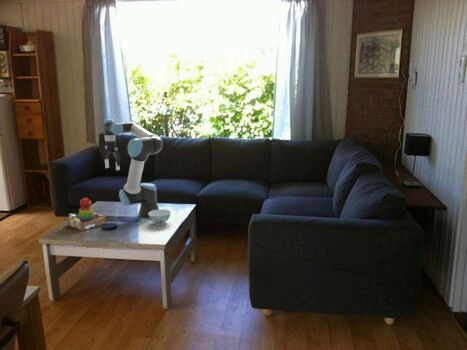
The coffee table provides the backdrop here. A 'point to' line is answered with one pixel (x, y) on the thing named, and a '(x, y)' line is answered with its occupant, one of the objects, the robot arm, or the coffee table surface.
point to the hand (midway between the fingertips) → (112, 168)
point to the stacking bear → (85, 210)
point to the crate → (81, 225)
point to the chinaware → (159, 216)
